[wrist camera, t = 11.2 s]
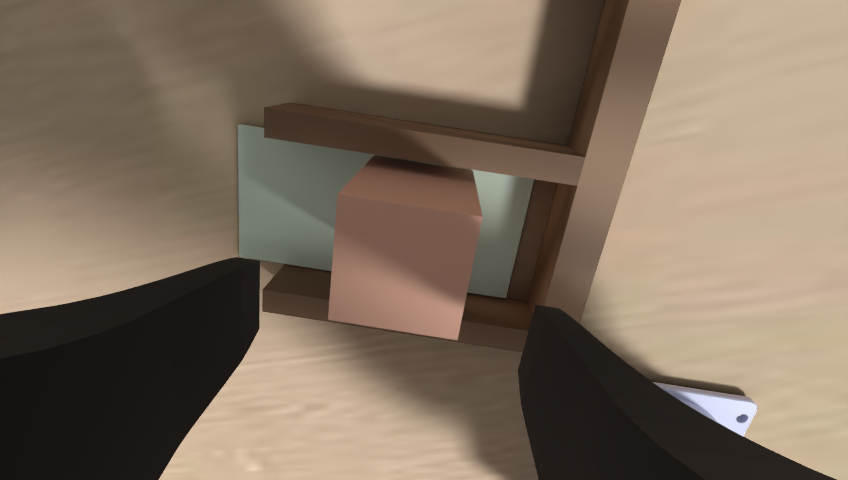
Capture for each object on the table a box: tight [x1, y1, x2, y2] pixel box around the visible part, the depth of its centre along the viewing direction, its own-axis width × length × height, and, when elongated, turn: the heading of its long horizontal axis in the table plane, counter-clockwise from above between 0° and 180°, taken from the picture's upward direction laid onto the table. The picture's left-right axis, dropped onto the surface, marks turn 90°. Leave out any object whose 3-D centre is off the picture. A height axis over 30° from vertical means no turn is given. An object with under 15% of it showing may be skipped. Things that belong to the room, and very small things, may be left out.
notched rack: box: [238, 0, 681, 352], centre depth 15 cm, size 22×14×2 cm, turn 172°
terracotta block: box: [328, 155, 483, 340], centre depth 15 cm, size 4×4×6 cm
